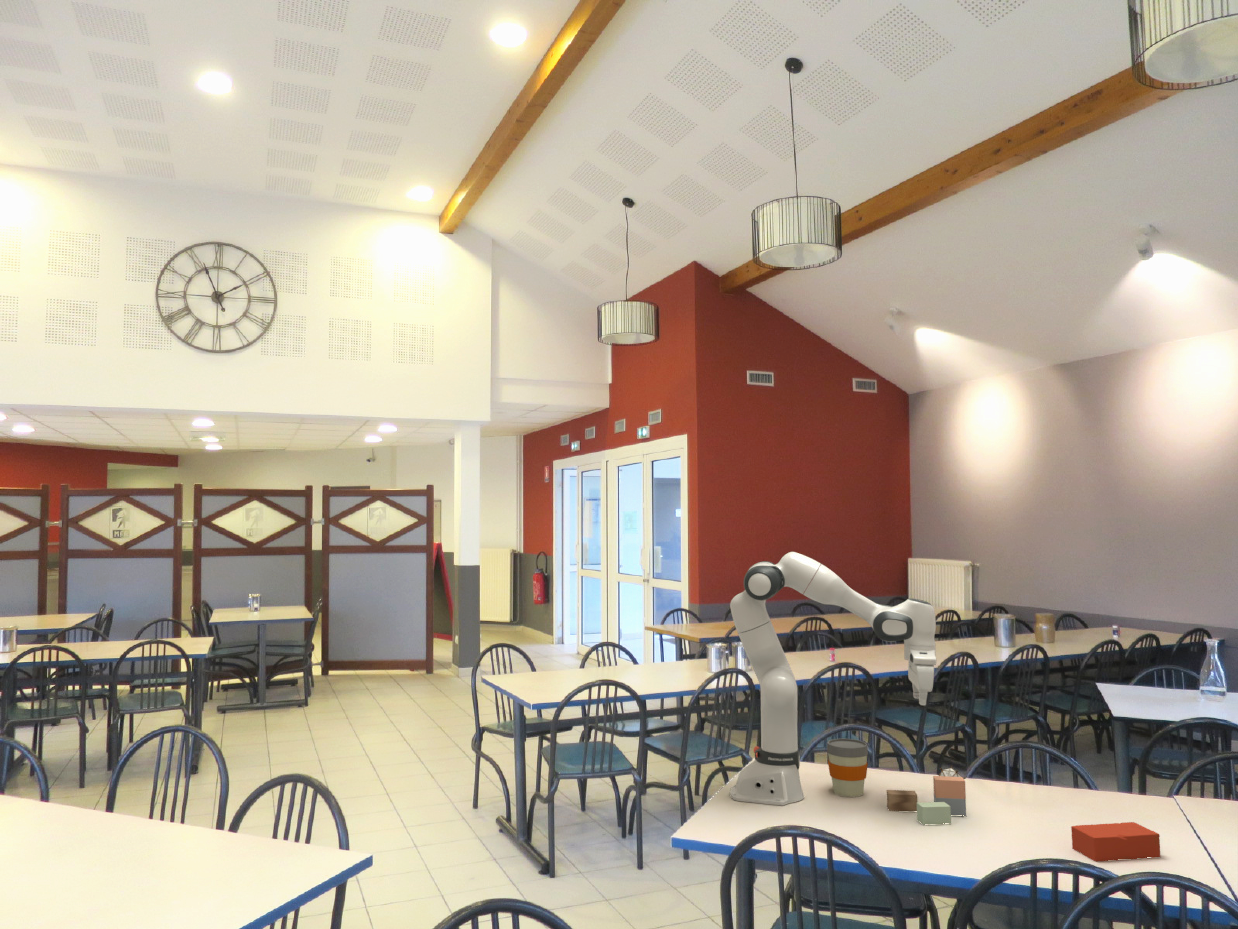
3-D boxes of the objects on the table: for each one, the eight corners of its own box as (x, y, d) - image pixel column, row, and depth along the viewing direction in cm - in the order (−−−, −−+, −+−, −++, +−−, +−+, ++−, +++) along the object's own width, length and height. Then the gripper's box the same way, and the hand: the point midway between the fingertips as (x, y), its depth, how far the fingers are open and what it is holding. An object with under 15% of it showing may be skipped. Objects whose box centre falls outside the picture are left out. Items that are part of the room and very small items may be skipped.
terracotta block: (936, 797, 247) (935, 779, 247) (933, 793, 251) (933, 776, 251) (965, 799, 245) (965, 781, 246) (962, 794, 249) (962, 777, 249)
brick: (1134, 845, 223) (1133, 821, 224) (1161, 858, 214) (1160, 834, 215) (1071, 849, 221) (1070, 825, 221) (1095, 863, 212) (1094, 838, 212)
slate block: (936, 815, 246) (936, 798, 246) (934, 811, 250) (933, 793, 250) (966, 817, 245) (965, 799, 245) (963, 812, 249) (962, 795, 249)
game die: (957, 807, 264) (973, 786, 259) (931, 797, 264) (946, 776, 260) (953, 785, 272) (968, 764, 267) (928, 775, 272) (942, 754, 267)
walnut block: (889, 811, 250) (888, 794, 250) (887, 807, 254) (886, 789, 254) (917, 812, 249) (917, 795, 249) (915, 808, 253) (914, 791, 253)
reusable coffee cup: (819, 789, 271) (818, 741, 272) (850, 784, 276) (849, 736, 277) (845, 801, 259) (844, 750, 260) (878, 795, 264) (876, 745, 266)
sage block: (923, 825, 238) (922, 807, 239) (917, 820, 242) (916, 802, 243) (951, 825, 239) (950, 806, 239) (944, 820, 243) (944, 802, 243)
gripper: (903, 648, 266) (903, 694, 265) (914, 659, 246) (914, 708, 245) (924, 649, 265) (924, 695, 264) (937, 660, 244) (937, 709, 244)
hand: (919, 701), depth 254 cm, fingers open, 8 cm apart
